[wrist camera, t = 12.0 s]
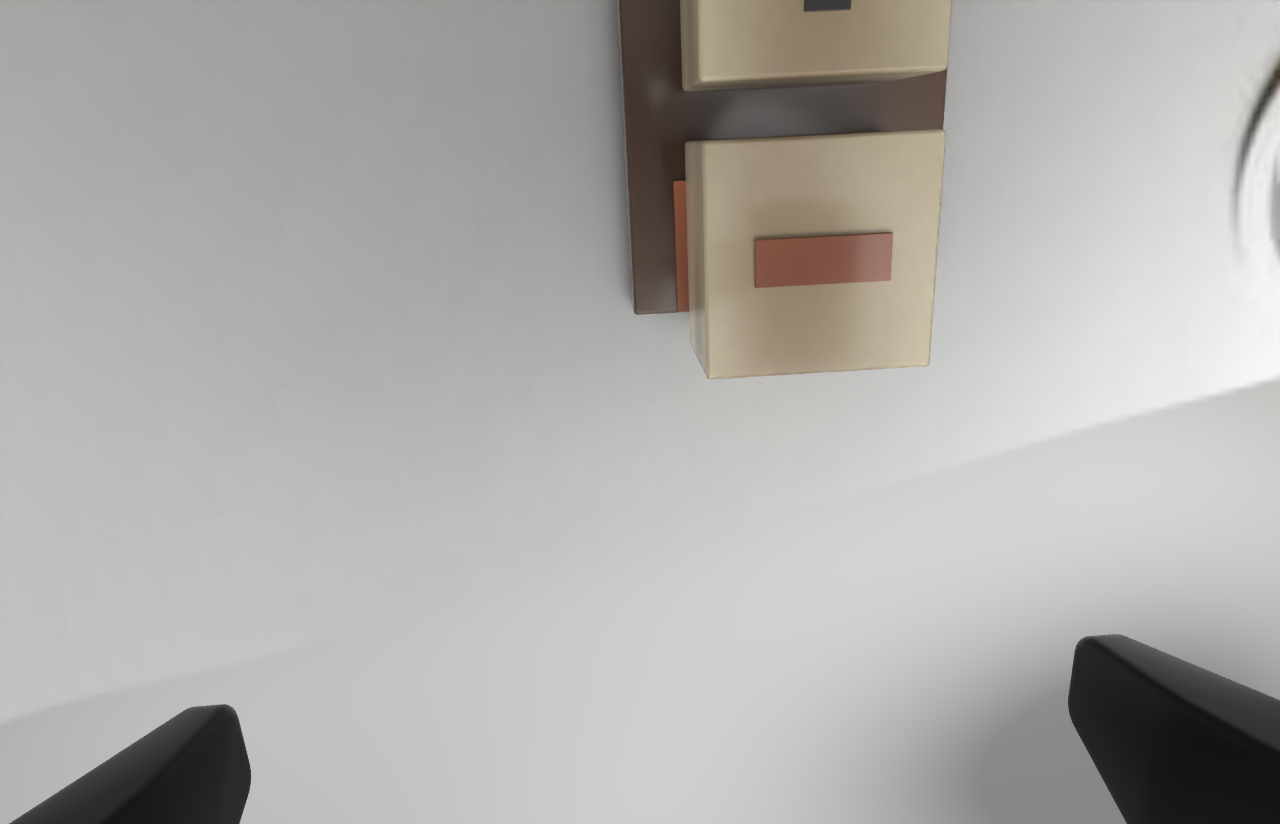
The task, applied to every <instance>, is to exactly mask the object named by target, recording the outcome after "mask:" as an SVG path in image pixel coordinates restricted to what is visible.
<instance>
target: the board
mask: <svg viewBox="0 0 1280 824" xmlns="http://www.w3.org/2000/svg"><path fill="white" fill-rule="evenodd" d="M951 7H952V0H617V11H618V31H619V51H620V70H621V90H622V110H623V130H624V150H625V170H626V190H627V210H628V230H629V250H630V270H631V290H632V306H633V310H634V313H635V314H637V315H641V314H659V313H676V312H689V285H688V249H687V212H686V176H685V143H686V142H687V141H698V140H718V139H738V138H758V137H779V136H799V135H819V134H839V133H860V132H880V131H903V130H929V129H943V121H944V107H945V93H946V78H947V64H948V50H949V35H950V21H951Z"/></svg>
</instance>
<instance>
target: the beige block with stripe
mask: <svg viewBox="0 0 1280 824" xmlns="http://www.w3.org/2000/svg"><path fill="white" fill-rule="evenodd" d="M945 135H946V133H945V130H943V129H929V130H903V131H880V132H860V133H839V134H819V135H799V136H779V137H758V138H738V139H718V140H698V141H687V142H686V143H685V176H686V212H687V249H688V285H689V322H690V343H691V345H692V347H693V349H694V351H695V353H696V355H697V357H698V359H699V362H700V364H701V366H702V368H703V370H704V372H705V374H706V376H707V378H708V379H722V378H738V377H755V376H771V375H788V374H804V373H821V372H837V371H854V370H871V369H887V368H904V367H920V366H927V365H929V361H930V347H931V333H932V319H933V304H934V290H935V276H936V262H937V248H938V234H939V220H940V205H941V191H942V177H943V163H944V149H945Z"/></svg>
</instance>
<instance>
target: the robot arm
mask: <svg viewBox="0 0 1280 824" xmlns="http://www.w3.org/2000/svg"><path fill="white" fill-rule="evenodd" d="M1068 706H1069V713H1070V717H1071V719H1072V722H1073V724H1074V727H1075V728H1076V730H1077V732H1078V734H1079V736H1080V738H1081V739H1082V741H1083V743H1084V745H1085V747H1086V749H1087V751H1088V753H1089V754H1090V756H1091V758H1092V760H1093V762H1094V764H1095V765H1096V767H1097V769H1098V771H1099V773H1100V775H1101V777H1102V778H1103V780H1104V782H1105V784H1106V786H1107V788H1108V790H1109V792H1110V793H1111V795H1112V797H1113V799H1114V801H1115V803H1116V804H1117V806H1118V808H1119V810H1120V812H1121V814H1122V815H1123V817H1124V819H1125V821H1126V823H1127V824H1280V700H1278V699H1275V698H1273V697H1270V696H1268V695H1266V694H1263V693H1261V692H1258V691H1256V690H1254V689H1251V688H1249V687H1247V686H1244V685H1242V684H1239V683H1237V682H1234V681H1232V680H1230V679H1227V678H1225V677H1222V676H1220V675H1218V674H1215V673H1213V672H1210V671H1208V670H1205V669H1203V668H1201V667H1198V666H1196V665H1193V664H1191V663H1188V662H1186V661H1184V660H1181V659H1179V658H1177V657H1174V656H1171V655H1169V654H1167V653H1164V652H1162V651H1159V650H1157V649H1155V648H1152V647H1150V646H1148V645H1145V644H1143V643H1140V642H1138V641H1135V640H1133V639H1130V638H1128V637H1126V636H1123V635H1118V634H1117V635H1116V634H1112V635H1100V636H1087V637H1084V638H1082V639H1081V640H1080V641H1079V642H1078V644H1077V645H1076V649H1075V654H1074V661H1073V668H1072V675H1071V683H1070V689H1069V696H1068ZM250 784H251V770H250V764H249V759H248V755H247V752H246V747H245V743H244V740H243V736H242V732H241V727H240V723H239V719H238V716H237V714H236V711H235V710H234V709H233V708H232V707H231V706H229V705H226V704H223V705H210V706H199V707H191V708H188V709H186V710H184V711H183V712H181V713H180V714H178V715H177V716H175V717H174V718H172V719H170V720H169V721H167V722H166V723H164V724H163V725H161V726H160V727H158V728H156V729H155V730H153V731H152V732H150V733H149V734H147V735H146V736H144V737H143V738H141V739H139V740H138V741H137V742H135V743H133V744H132V745H131V746H129V747H127V748H126V749H124V750H122V751H121V752H119V753H118V754H116V755H115V756H113V757H112V758H110V759H109V760H107V761H106V762H104V763H102V764H101V765H99V766H98V767H96V768H95V769H93V770H92V771H90V772H88V773H87V774H85V775H84V776H82V777H81V778H79V779H78V780H76V781H75V782H73V783H71V784H70V785H68V786H67V787H65V788H64V789H62V790H61V791H59V792H58V793H56V794H54V795H53V796H51V797H50V798H48V799H47V800H45V801H44V802H42V803H41V804H39V805H37V806H36V807H34V808H33V809H31V810H30V811H28V812H27V813H25V814H24V815H22V816H21V817H19V818H17V819H16V820H14V821H13V822H11V823H10V824H239V823H240V819H241V816H242V813H243V810H244V807H245V804H246V800H247V797H248V793H249V790H250Z"/></svg>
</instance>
